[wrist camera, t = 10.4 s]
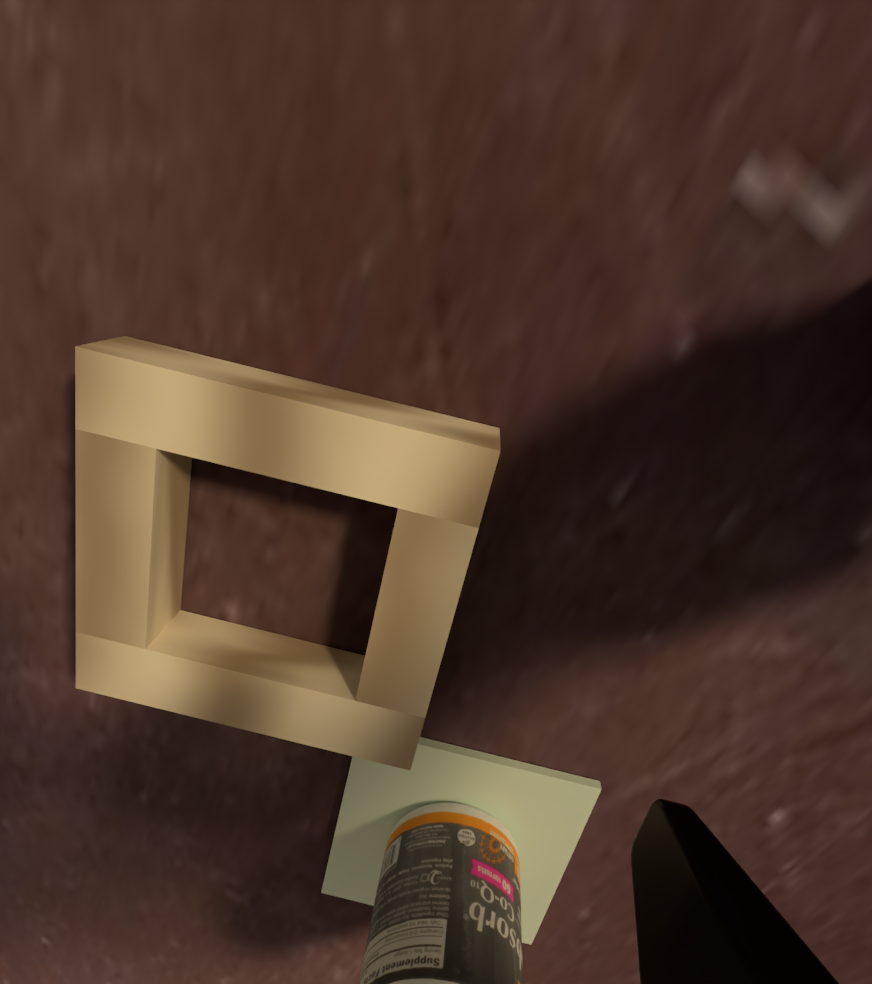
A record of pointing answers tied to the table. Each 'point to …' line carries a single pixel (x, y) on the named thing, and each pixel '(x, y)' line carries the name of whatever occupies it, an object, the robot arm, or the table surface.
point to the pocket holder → (287, 456)
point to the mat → (471, 781)
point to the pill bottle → (446, 902)
